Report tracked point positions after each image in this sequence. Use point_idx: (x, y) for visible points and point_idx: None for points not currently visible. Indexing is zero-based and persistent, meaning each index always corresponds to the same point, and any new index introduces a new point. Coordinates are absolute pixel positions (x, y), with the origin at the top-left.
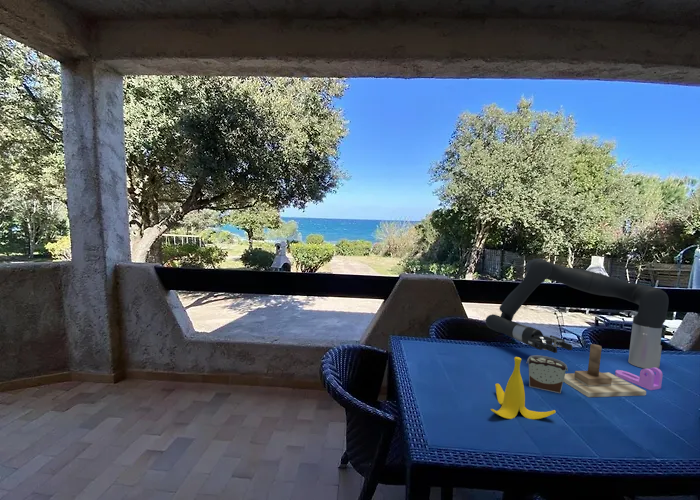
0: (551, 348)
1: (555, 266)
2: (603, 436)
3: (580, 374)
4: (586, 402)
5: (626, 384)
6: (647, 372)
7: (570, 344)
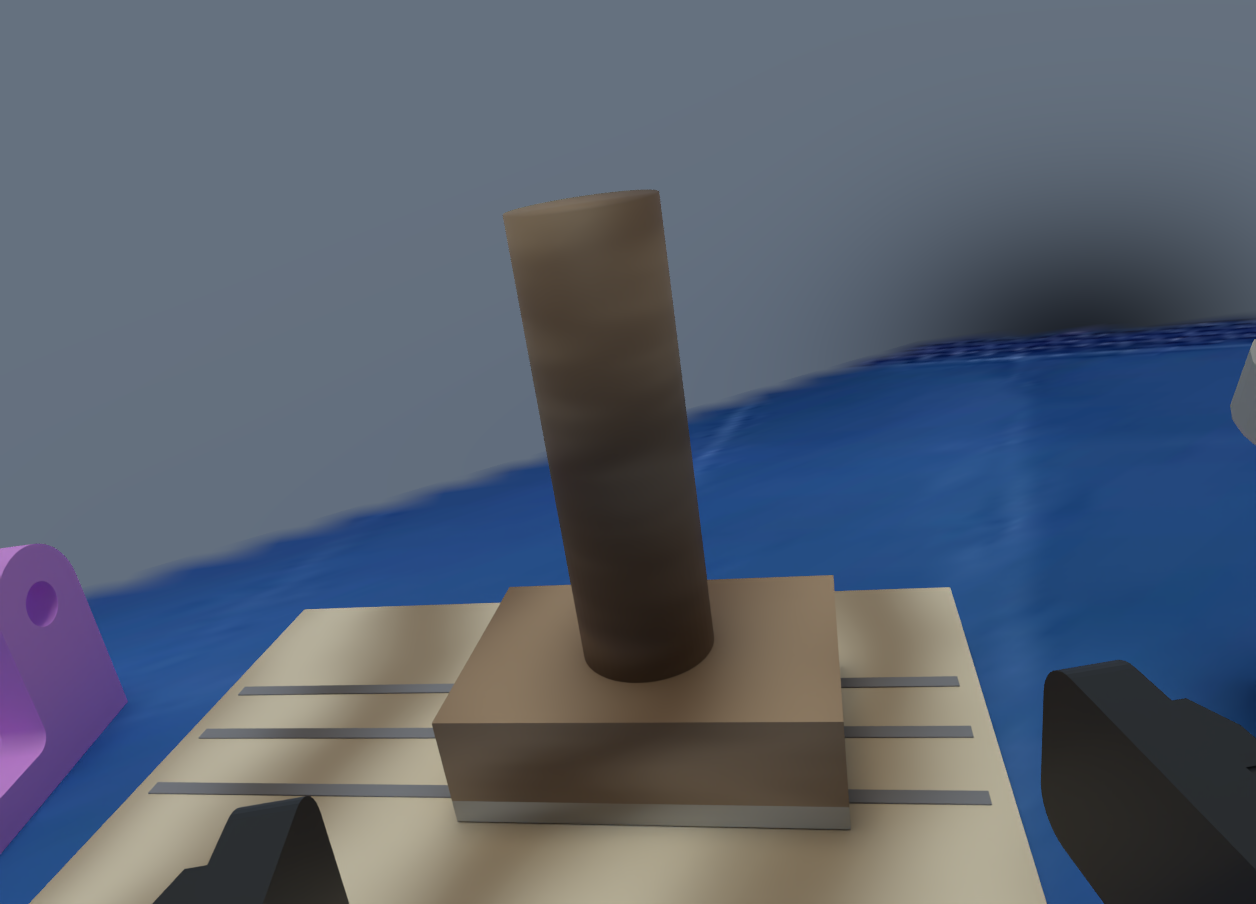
0: (1251, 766)
1: None
2: (1185, 399)
3: (838, 657)
4: (1042, 579)
5: (304, 688)
6: (39, 572)
7: (232, 830)
